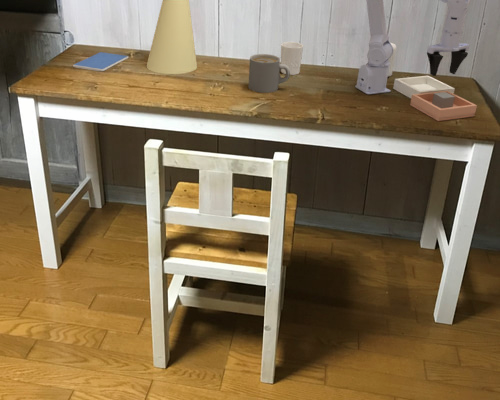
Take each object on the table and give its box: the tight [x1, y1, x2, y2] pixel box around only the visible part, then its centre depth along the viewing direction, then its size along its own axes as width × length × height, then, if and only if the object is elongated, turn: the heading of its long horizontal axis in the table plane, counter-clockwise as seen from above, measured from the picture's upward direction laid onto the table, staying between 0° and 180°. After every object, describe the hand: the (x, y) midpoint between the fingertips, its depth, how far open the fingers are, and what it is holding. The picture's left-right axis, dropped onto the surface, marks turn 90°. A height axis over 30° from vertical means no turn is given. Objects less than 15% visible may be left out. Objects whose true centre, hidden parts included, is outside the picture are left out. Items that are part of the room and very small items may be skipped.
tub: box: [392, 75, 456, 99], centre depth 191 cm, size 14×14×4 cm
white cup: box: [280, 41, 304, 76], centre depth 203 cm, size 8×8×10 cm
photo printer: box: [388, 42, 397, 77], centre depth 203 cm, size 10×4×12 cm, turn 123°
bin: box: [409, 91, 478, 122], centre depth 178 cm, size 14×14×4 cm
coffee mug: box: [248, 53, 291, 94], centre depth 187 cm, size 13×10×10 cm
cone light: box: [146, 0, 198, 75], centre depth 200 cm, size 25×18×35 cm
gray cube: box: [432, 92, 455, 109], centre depth 177 cm, size 4×4×4 cm
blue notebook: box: [72, 51, 130, 72], centre depth 207 cm, size 19×13×1 cm, turn 162°
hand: (442, 74), depth 180 cm, fingers open, 7 cm apart
